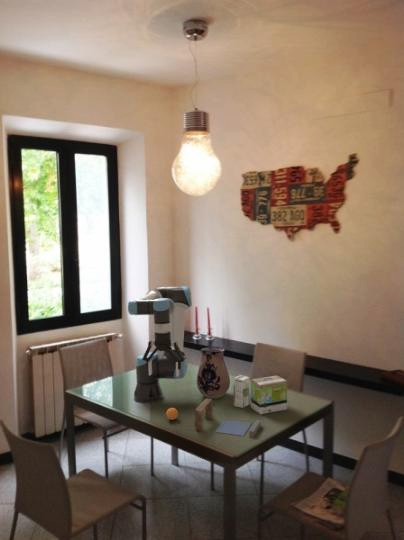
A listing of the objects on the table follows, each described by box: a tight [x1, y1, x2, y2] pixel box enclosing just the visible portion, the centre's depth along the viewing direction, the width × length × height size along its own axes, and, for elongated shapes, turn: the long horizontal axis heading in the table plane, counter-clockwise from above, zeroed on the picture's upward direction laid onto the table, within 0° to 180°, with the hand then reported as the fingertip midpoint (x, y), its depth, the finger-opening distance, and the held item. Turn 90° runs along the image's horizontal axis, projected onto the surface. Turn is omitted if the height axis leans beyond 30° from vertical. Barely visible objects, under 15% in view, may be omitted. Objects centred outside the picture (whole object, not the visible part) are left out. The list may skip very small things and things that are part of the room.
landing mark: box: [214, 419, 252, 437], centre depth 218 cm, size 13×13×1 cm
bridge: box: [194, 398, 214, 432], centre depth 223 cm, size 3×14×9 cm, turn 159°
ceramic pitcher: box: [196, 345, 231, 400], centre depth 258 cm, size 18×21×25 cm
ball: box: [165, 407, 179, 421], centre depth 229 cm, size 6×6×6 cm
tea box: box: [250, 375, 288, 415], centre depth 238 cm, size 15×10×15 cm
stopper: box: [248, 419, 262, 438], centre depth 214 cm, size 2×12×2 cm, turn 159°
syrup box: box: [233, 374, 250, 409], centre depth 243 cm, size 6×6×14 cm
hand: (164, 375), depth 232 cm, fingers open, 13 cm apart
